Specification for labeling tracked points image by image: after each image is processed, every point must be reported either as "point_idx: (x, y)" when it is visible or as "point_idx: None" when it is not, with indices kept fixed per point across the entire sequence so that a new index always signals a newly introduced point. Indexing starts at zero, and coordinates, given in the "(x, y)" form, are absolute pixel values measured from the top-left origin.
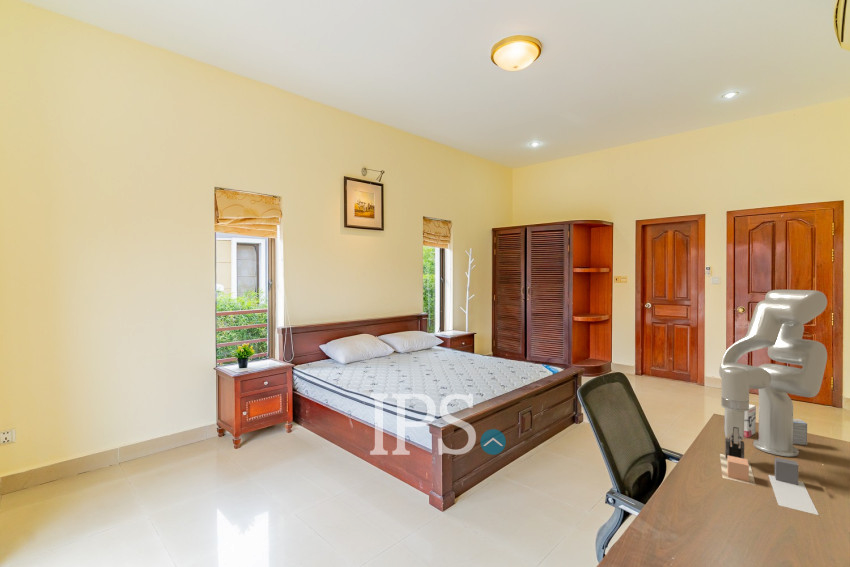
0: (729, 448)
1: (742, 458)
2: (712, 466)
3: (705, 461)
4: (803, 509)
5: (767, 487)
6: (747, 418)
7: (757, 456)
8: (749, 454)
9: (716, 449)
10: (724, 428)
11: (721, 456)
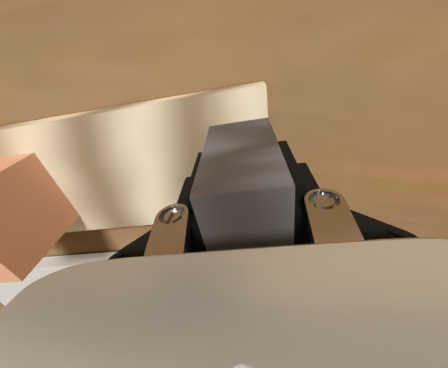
0: (188, 185)
1: (5, 267)
2: (73, 64)
3: (110, 3)
4: (7, 301)
5: (88, 245)
6: None
7: (387, 219)
8: (402, 196)
9: (425, 33)
10: (240, 352)
11: (218, 101)
